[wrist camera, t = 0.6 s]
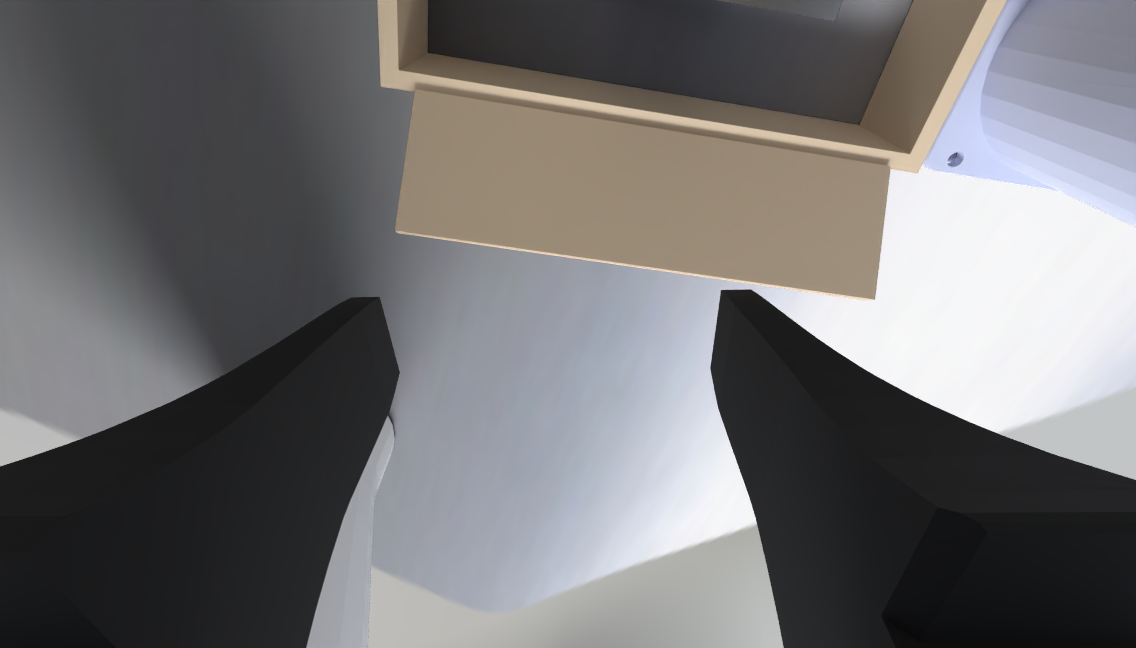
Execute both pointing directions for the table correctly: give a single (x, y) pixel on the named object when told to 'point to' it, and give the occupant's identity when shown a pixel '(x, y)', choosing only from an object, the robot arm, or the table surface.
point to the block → (797, 7)
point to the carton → (670, 160)
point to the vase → (352, 562)
